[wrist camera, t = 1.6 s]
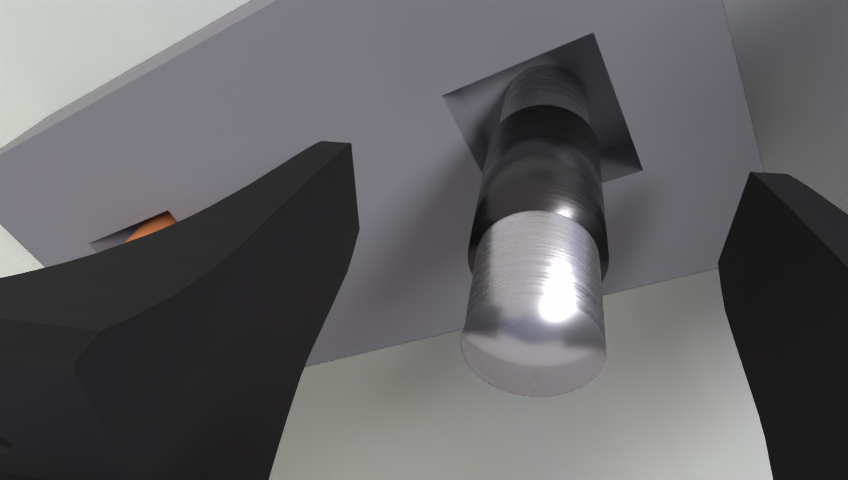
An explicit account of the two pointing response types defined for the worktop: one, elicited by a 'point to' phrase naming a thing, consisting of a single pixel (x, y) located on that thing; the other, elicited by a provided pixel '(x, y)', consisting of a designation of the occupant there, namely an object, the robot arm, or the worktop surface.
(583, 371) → the toggle switch lever
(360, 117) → the grey block
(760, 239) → the robot arm
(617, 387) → the worktop surface
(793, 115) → the worktop surface
